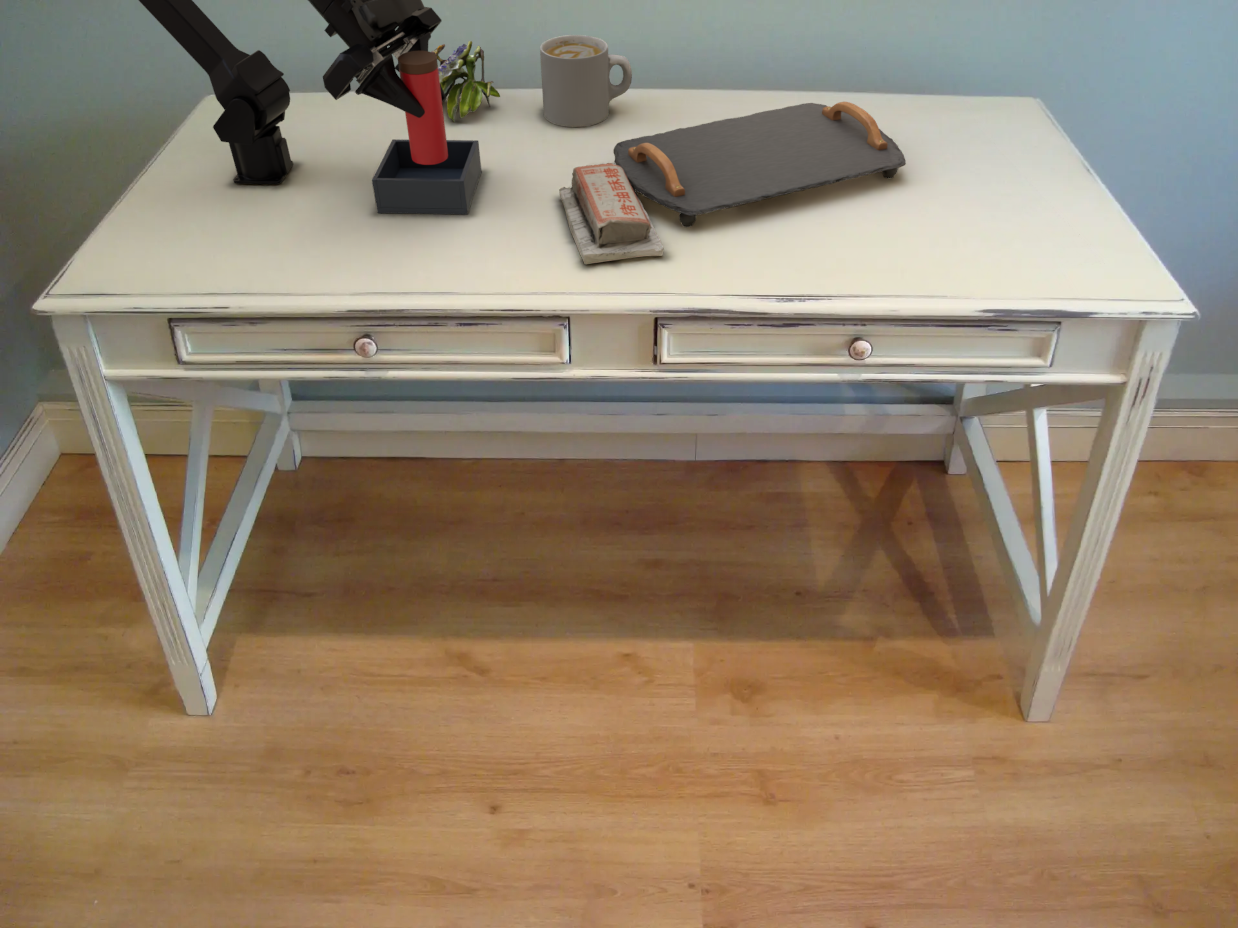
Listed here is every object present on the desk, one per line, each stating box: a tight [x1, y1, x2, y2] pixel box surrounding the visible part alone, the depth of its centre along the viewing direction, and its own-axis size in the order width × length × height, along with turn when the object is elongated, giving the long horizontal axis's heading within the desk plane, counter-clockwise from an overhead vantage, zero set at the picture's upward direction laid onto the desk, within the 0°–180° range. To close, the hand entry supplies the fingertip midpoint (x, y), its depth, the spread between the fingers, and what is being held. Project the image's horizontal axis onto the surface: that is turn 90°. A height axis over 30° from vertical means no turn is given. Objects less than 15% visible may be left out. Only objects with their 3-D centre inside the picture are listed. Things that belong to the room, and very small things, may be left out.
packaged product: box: [558, 162, 665, 265], centre depth 127 cm, size 18×5×10 cm
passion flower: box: [430, 40, 501, 123], centre depth 155 cm, size 11×11×12 cm
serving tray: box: [613, 101, 907, 228], centre depth 138 cm, size 39×23×6 cm, turn 115°
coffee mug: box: [539, 34, 633, 128], centre depth 152 cm, size 13×10×10 cm
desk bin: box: [371, 138, 482, 215], centre depth 135 cm, size 12×12×5 cm
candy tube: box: [397, 50, 448, 165], centre depth 126 cm, size 5×5×12 cm
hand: (433, 108), depth 125 cm, fingers closed on candy tube, 4 cm apart
